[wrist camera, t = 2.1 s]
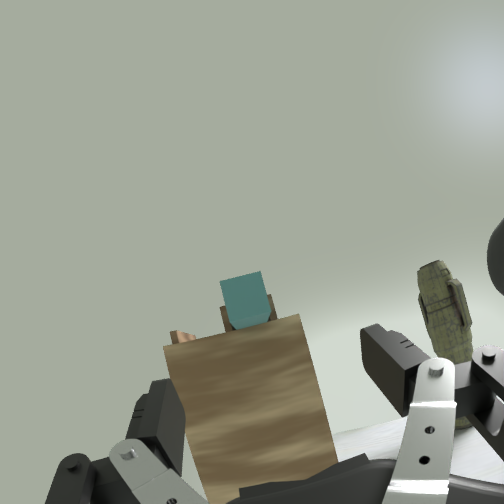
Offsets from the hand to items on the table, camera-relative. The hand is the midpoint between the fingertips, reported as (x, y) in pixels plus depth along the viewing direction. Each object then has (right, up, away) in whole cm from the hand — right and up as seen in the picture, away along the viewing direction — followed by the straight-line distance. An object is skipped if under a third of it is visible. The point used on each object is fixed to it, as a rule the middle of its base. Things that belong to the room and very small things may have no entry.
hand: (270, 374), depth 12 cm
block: (-1, -4, +25) cm, 25 cm away
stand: (+5, -35, +19) cm, 40 cm away
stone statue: (+44, -30, +35) cm, 64 cm away
